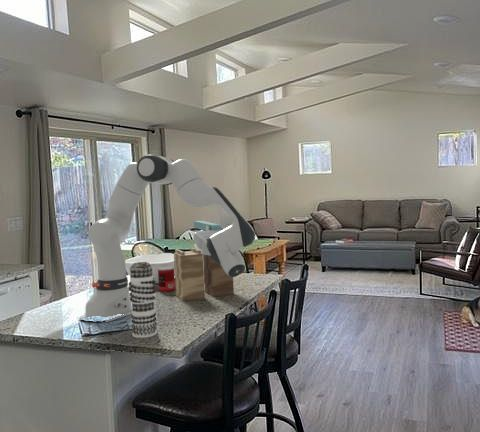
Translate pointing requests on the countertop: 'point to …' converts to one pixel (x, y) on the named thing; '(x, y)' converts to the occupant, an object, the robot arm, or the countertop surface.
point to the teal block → (203, 225)
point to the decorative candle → (142, 300)
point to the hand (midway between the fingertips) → (213, 226)
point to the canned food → (166, 279)
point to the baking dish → (153, 263)
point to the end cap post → (216, 278)
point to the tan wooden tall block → (189, 274)
